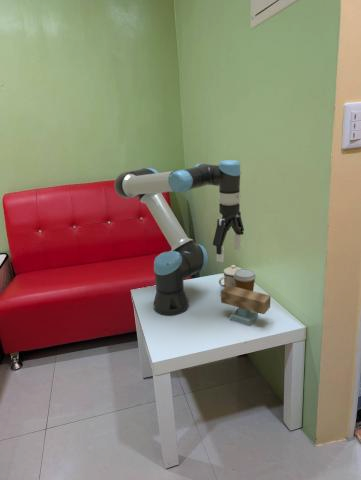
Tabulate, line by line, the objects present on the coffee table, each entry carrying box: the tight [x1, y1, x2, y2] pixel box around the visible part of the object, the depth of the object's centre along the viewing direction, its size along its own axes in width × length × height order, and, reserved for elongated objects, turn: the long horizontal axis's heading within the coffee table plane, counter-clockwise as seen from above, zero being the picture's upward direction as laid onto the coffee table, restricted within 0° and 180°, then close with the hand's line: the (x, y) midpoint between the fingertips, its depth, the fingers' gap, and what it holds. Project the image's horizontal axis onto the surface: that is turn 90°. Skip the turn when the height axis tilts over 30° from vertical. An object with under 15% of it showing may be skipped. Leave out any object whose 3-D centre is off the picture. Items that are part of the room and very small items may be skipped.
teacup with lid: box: [218, 264, 242, 289], centre depth 160 cm, size 12×9×12 cm
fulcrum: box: [230, 307, 259, 327], centre depth 138 cm, size 8×8×6 cm
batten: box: [220, 285, 272, 315], centre depth 136 cm, size 18×6×5 cm, turn 54°
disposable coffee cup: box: [234, 268, 257, 291], centre depth 152 cm, size 10×10×12 cm
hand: (228, 255), depth 138 cm, fingers open, 13 cm apart
